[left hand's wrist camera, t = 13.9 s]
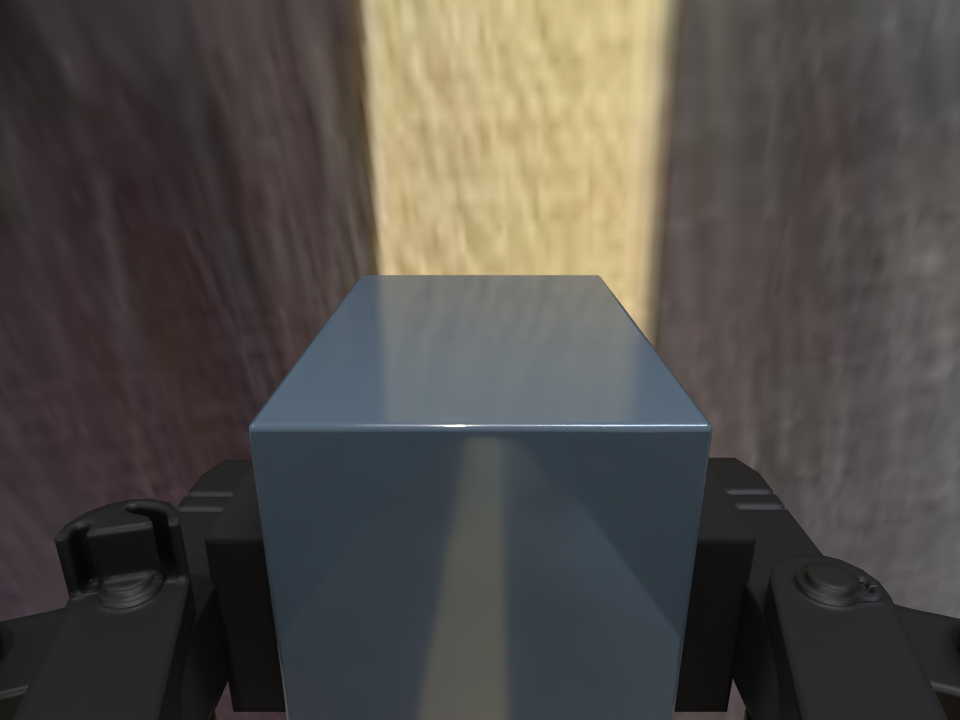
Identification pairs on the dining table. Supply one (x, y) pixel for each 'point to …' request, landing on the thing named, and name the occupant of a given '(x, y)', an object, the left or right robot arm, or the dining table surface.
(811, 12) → the dining table surface
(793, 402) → the dining table surface
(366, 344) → the block
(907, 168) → the dining table surface
